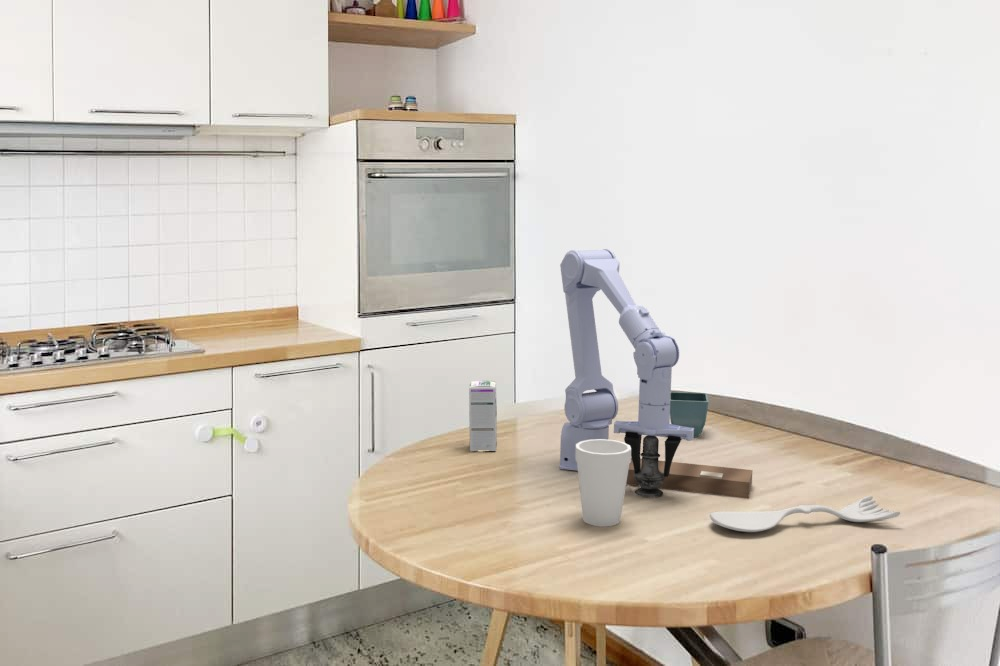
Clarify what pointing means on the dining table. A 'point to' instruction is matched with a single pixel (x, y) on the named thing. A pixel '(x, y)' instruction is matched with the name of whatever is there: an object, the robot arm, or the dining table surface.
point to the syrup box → (483, 415)
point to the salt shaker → (649, 470)
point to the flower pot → (689, 410)
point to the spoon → (769, 519)
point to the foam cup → (602, 479)
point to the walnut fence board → (702, 479)
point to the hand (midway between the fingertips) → (651, 473)
